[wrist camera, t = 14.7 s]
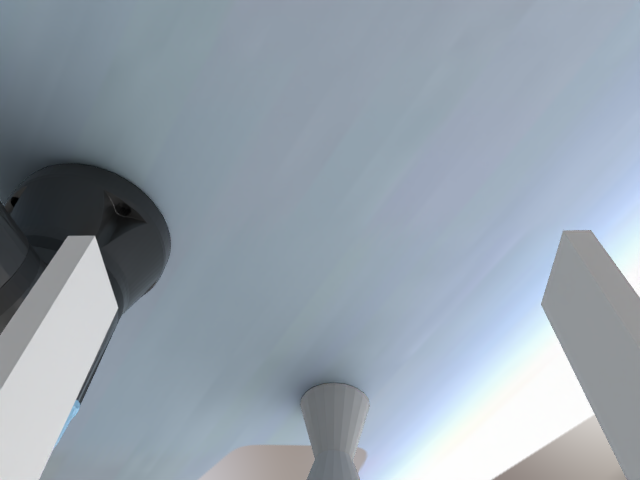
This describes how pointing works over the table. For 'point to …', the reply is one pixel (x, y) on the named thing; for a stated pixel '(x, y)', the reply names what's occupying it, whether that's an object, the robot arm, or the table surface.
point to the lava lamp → (334, 429)
